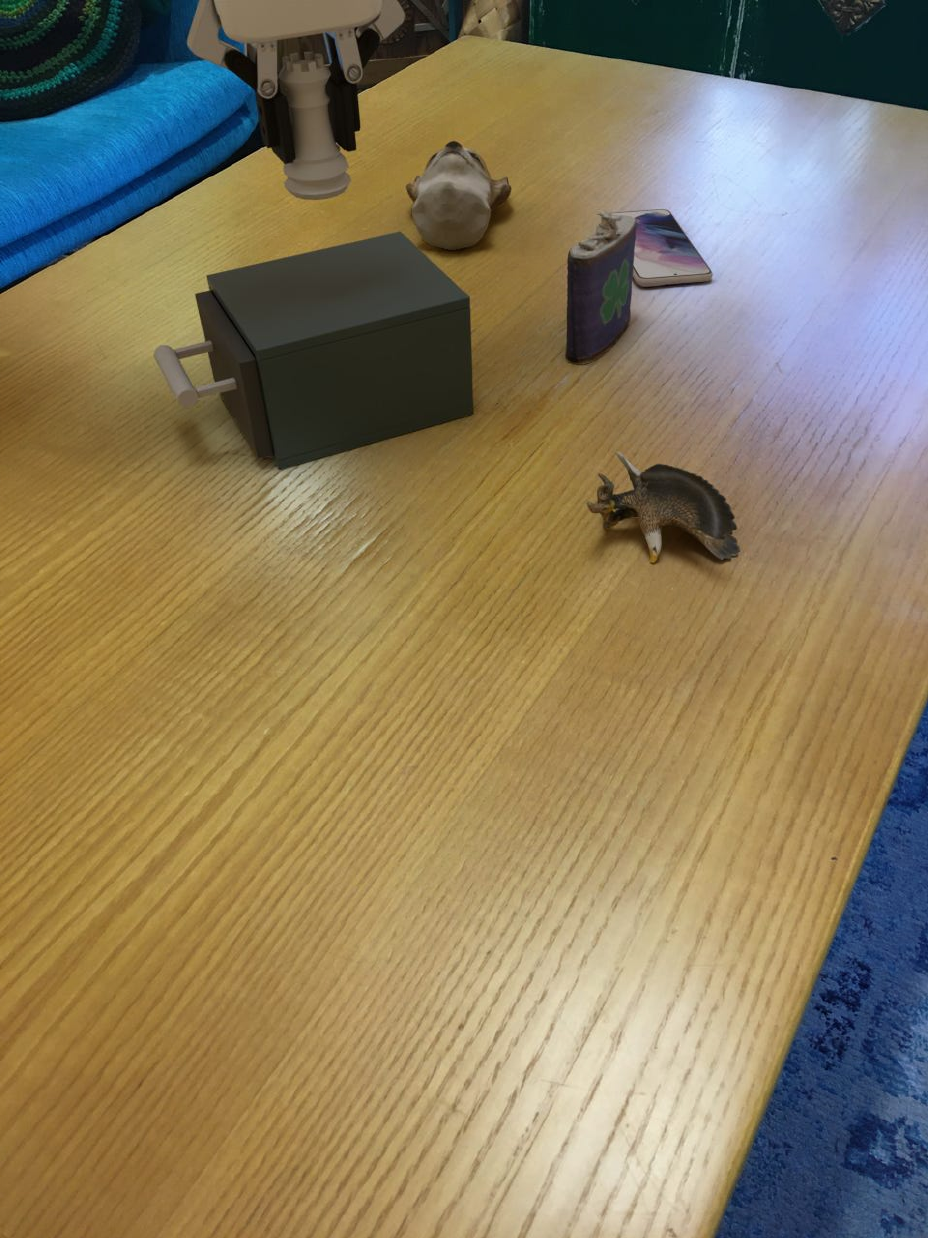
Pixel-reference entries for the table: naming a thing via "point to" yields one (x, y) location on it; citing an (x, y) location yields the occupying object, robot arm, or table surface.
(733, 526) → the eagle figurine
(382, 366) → the cabinet
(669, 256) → the smartphone
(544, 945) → the table surface
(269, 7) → the robot arm
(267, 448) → the drawer
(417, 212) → the ceramic sculpture
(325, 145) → the rook chess piece
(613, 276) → the flask
